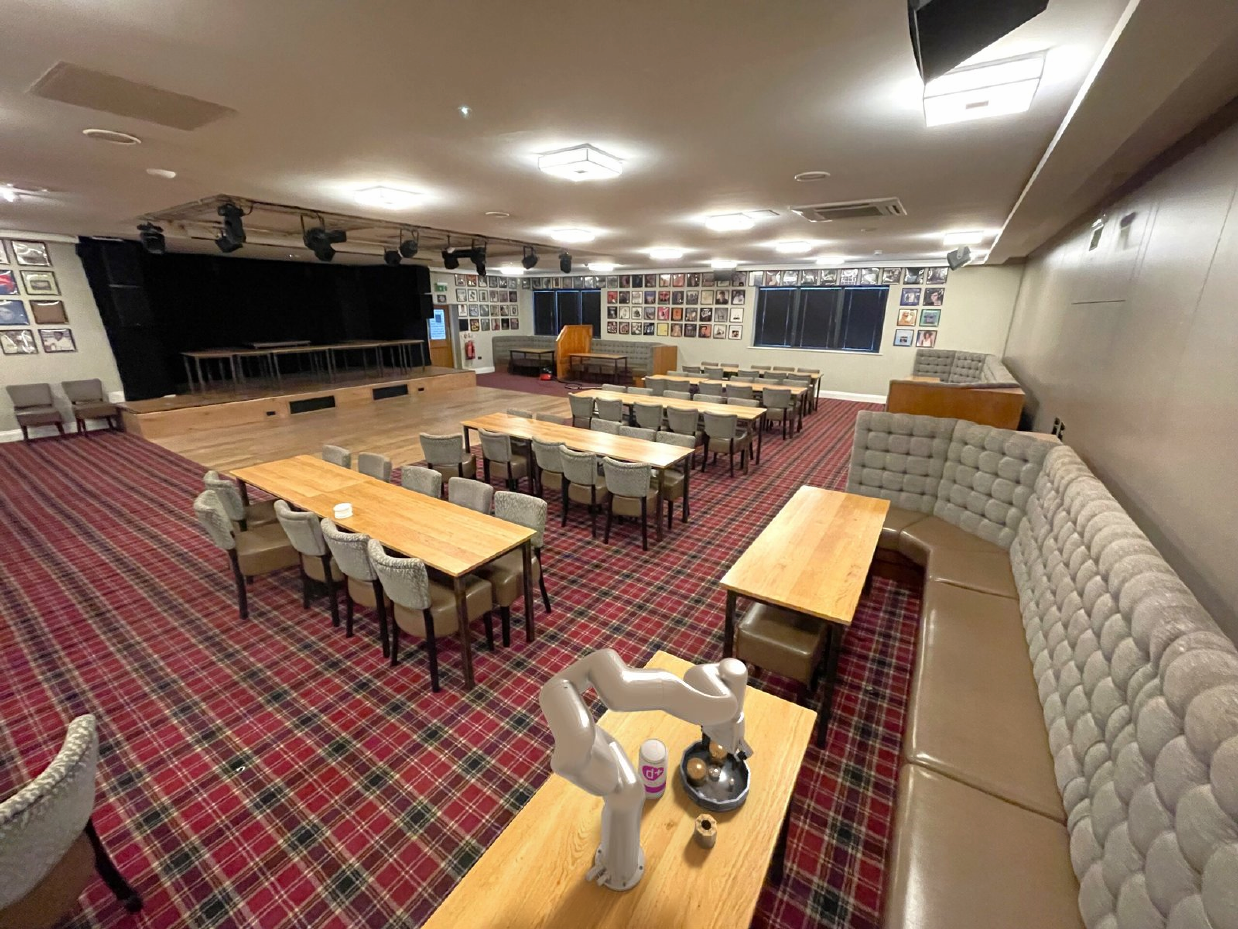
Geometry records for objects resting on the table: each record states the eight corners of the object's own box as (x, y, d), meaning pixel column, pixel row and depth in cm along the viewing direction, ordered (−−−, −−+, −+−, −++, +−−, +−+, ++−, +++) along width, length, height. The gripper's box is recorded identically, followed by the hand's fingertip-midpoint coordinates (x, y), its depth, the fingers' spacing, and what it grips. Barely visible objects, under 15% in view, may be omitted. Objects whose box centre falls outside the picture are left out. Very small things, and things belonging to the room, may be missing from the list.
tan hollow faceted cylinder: (706, 853, 127) (707, 840, 125) (690, 836, 130) (691, 823, 129) (719, 839, 130) (721, 826, 128) (703, 822, 134) (704, 810, 132)
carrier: (719, 827, 133) (721, 812, 130) (666, 774, 147) (667, 759, 144) (762, 782, 145) (765, 766, 143) (709, 736, 159) (710, 722, 157)
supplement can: (664, 803, 139) (666, 765, 133) (635, 797, 140) (636, 759, 135) (667, 776, 146) (670, 739, 141) (639, 771, 147) (641, 734, 142)
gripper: (691, 692, 128) (686, 741, 134) (748, 735, 116) (739, 787, 122) (709, 677, 132) (703, 725, 138) (765, 718, 121) (756, 768, 127)
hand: (720, 754), depth 130 cm, fingers open, 9 cm apart
